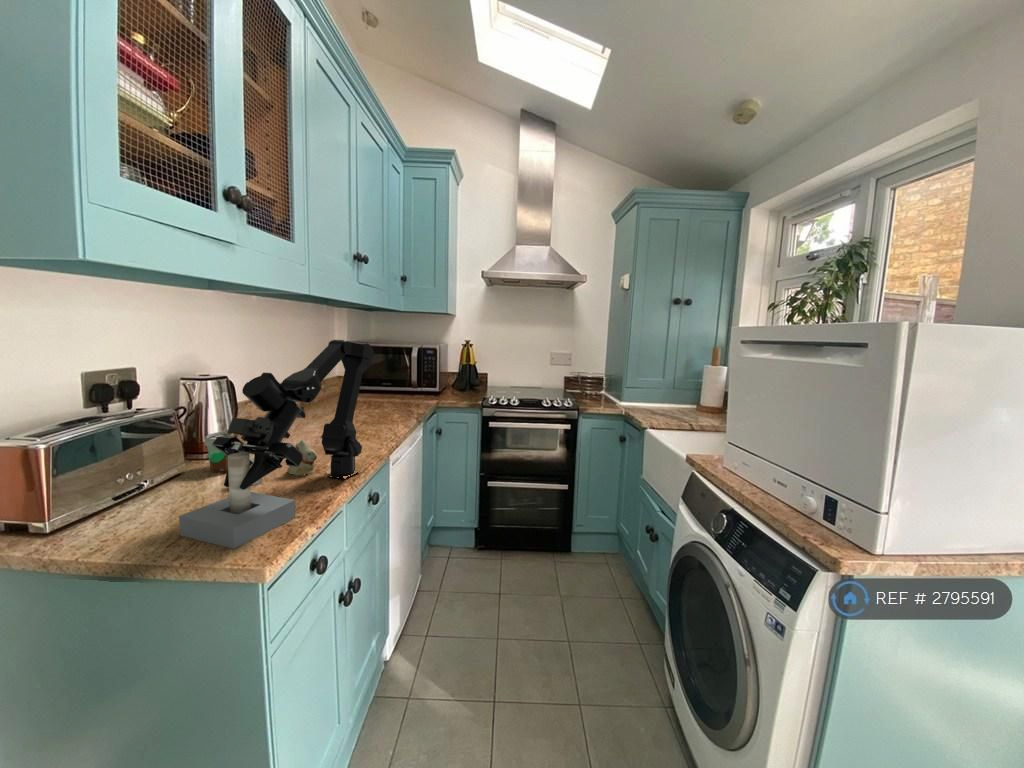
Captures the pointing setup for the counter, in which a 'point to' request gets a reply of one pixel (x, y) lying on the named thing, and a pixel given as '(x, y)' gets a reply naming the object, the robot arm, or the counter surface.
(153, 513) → the counter surface
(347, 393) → the robot arm
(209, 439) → the food container
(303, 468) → the chocolate bunny
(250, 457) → the short pin
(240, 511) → the long pin
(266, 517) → the socket block
